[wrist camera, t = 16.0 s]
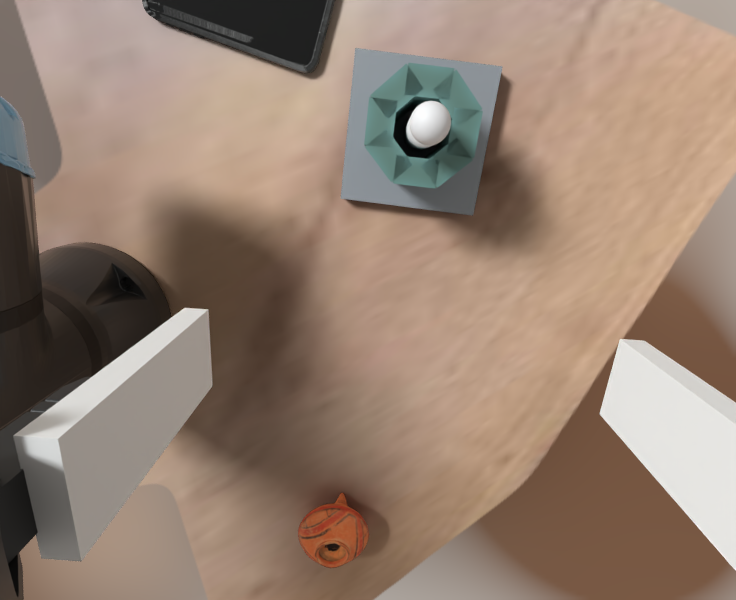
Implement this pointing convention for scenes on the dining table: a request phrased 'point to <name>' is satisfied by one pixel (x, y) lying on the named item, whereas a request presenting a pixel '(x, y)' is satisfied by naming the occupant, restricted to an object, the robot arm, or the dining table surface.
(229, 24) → the phone
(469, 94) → the bead
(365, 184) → the spindle plate
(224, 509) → the dining table surface
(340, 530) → the pot
